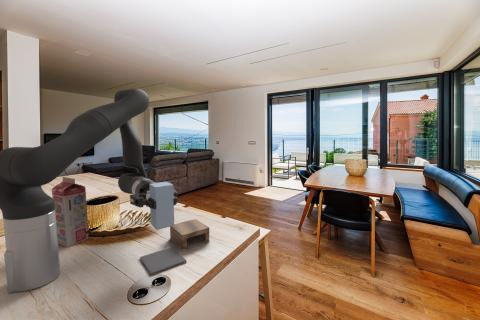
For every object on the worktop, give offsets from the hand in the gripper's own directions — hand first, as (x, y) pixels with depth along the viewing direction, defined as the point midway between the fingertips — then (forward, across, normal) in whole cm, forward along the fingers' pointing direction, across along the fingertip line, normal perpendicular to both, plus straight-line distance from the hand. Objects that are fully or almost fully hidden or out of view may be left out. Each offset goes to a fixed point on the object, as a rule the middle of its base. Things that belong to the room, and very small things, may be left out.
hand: (165, 203), depth 61 cm
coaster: (-2, 0, +18) cm, 18 cm away
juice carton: (-33, -20, +18) cm, 43 cm away
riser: (-9, +12, +18) cm, 23 cm away
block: (-3, 0, +7) cm, 7 cm away
